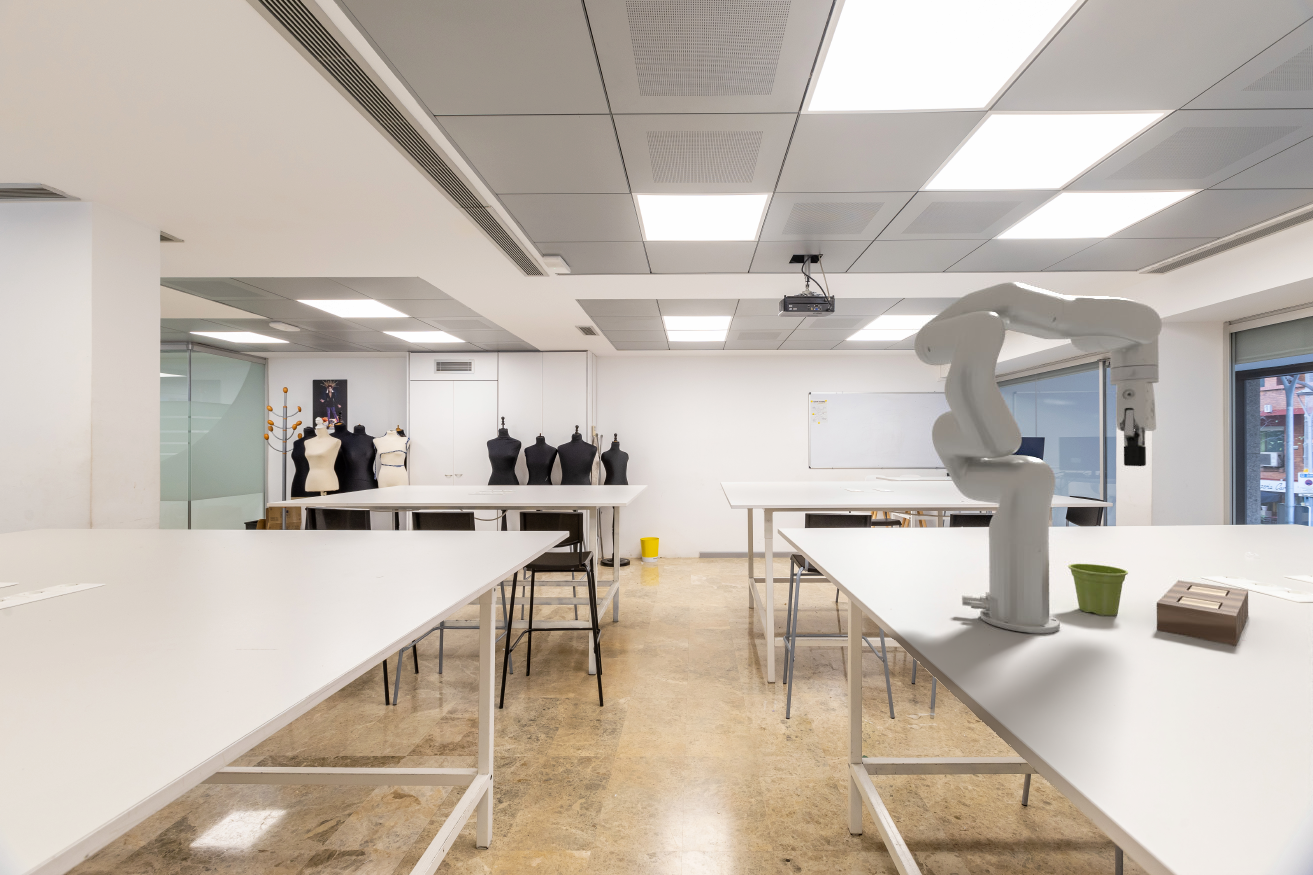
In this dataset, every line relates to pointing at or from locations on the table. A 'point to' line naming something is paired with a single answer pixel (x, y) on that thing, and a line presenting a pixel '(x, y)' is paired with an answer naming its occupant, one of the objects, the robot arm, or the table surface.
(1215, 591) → the peg far
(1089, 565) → the plant pot
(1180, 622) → the peg board
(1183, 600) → the peg near
